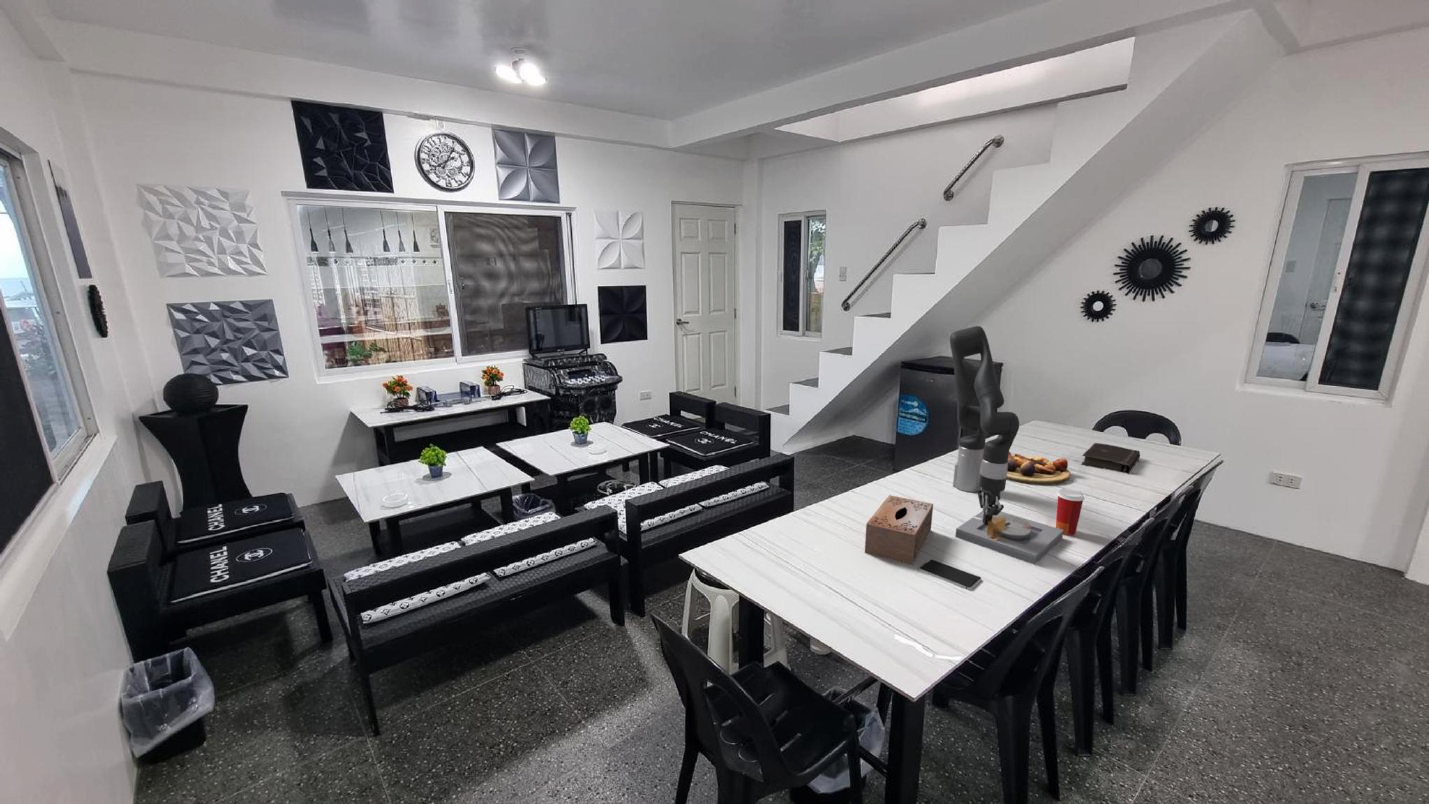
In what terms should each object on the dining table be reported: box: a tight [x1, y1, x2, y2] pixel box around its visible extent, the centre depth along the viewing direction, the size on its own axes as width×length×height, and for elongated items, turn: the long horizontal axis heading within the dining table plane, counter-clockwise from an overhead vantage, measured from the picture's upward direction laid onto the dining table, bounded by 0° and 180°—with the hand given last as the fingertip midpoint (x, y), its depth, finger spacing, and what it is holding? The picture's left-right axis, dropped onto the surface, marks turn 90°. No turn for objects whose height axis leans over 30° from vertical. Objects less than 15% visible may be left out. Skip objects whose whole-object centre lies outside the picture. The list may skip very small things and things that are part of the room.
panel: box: [955, 510, 1064, 565], centre depth 184 cm, size 24×24×3 cm
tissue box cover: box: [864, 494, 934, 566], centre depth 181 cm, size 26×14×10 cm, turn 148°
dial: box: [987, 515, 1031, 540], centre depth 182 cm, size 17×12×6 cm
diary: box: [1080, 442, 1141, 475], centre depth 252 cm, size 19×25×5 cm
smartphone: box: [918, 559, 982, 591], centre depth 163 cm, size 8×1×15 cm
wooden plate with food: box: [1006, 451, 1072, 486], centre depth 241 cm, size 32×32×8 cm
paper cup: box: [1055, 488, 1086, 537], centre depth 186 cm, size 8×8×14 cm
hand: (986, 524), depth 181 cm, fingers closed
